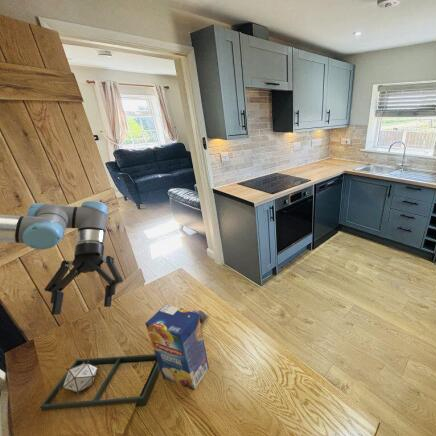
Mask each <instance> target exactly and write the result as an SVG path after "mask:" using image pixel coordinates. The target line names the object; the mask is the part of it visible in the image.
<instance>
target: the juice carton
mask: <svg viewBox="0 0 436 436" xmlns="http://www.w3.org/2000/svg"><path fill="white" fill-rule="evenodd" d="M180 308H181V307H176V306H173V305H170V304H165V305H163V306H162V307H161V308H160V309H158V311H157V312H156V313H155V314H154V315H152V316H151V318H149V319H148V320H147V321H145V326H146V330H147V333H148V336H149V339H150V342H151V345H152V348H153V352H154V354H155V355H156V358H157V361H158V364H159V367H160V370H161V371H160V374H161V376H162V378H163V380H167V381H168V382H172V383H174V384H175V385H176V384H177V385H180V386H182V387H184V388H187V389H189V390H192V391H195V390H196V388H197V387H198V385H199V384H200V382H201V381H202V379H203V377H204V376H205V375H206V373H207V371H208V370H209V368H210V367H209V366H210V365H209V361H208V355H207V351H206V346H205V345H206V344H205V340H204V336H203V335H204V334H203V330H202V324H200V319H199V314H197V313H194V312H192V311H191V310H187V309H184V308H183V309H184V310H183V309H180Z"/></svg>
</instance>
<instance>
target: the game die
mask: <svg viewBox="0 0 436 436" xmlns="http://www.w3.org/2000/svg"><path fill="white" fill-rule="evenodd" d="M84 363H85V362H84V361H83V362H82V364H81V365H79V366H76V367H74V368H71V369H70V367H66V368H65V370H66V373H67V375H66V378H65V381H64V384H63V387H62V388H60V389H59V390H60V391H61V390H67V391H69V392H74V393H76V396H78V395H79V394H80V392H81V391H83V390H85V389H87V388H90V387H91V386H92V385H93V384H94V382H95V379H96V376H97V372H98V369H100V368H101V365H97V366H96V365H91V364H88V363H89V360H88V361H87V363H85V364H84ZM67 371H68V372H67Z"/></svg>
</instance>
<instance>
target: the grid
mask: <svg viewBox="0 0 436 436" xmlns="http://www.w3.org/2000/svg"><path fill="white" fill-rule="evenodd" d="M88 360H89V363H88V364H91V365H93V366H103V365H104V366H105V365H113V366H112V368H111V369H110V371H109V372H108V374H107V376H106V378H105V379H104V381H103V382H102V384H101V386H100V388H98V391H96V394H95V396H94V398H93V399H92V400H81V401H69V402H56V403H52V401H53V400H54V399H55V397H56V396H57V394H58V393H59V392H60V391H61V390H59V389H60V388H62V387H63V384H64V381H65V378H66V375H67V372H68V370H66V372H65V374H64V375H63V377H62V378H61V379H60V381H58V383H57V384H56V385H55V386H54V388H53V389H52V391H51V392H50V393H49V394H48V395H47V397H46V398H45V400H44V401H43V402H42V403H41V405H40V406H39V408H40V409H41V411H42V412H43V411H53V410H67V409H77V408H79V409H80V408H89V407H90V408H91V407H103V406H112V405H113V406H114V405H124V404H134V408H136V407H146V406H147V405H148V402H149V400H150V397H151V394H152V393H153V391H154V388H155V385H156V383H157V380H158V379H159V375H160V374H161V370H160V367H159V364H158V361H157V358H156V355H155V353H150V354H137V355H136V354H135V355H123V356H122V355H121V356H107V357H94V358H79V359H75V361H74V363H72V365H70V367H69V369H71V368H74V367H76V366H79V365H81V364H82V362H83V361H84V362H85V363H87V361H88ZM145 362H147V363H148V362H154V363H153V366H152V368H151V370H150V372H149V374H148V377H147V379H146V380H145V384H144V385H143V387H142V390H141V392H140V394H139V396H129V397H120V398H119V397H118V398H117V397H116V398H104V399H101V397H102V396H103V394H104V392H105V391H106V389H107V387H108V385H109V384H110V382H111V381H112V379H113V377H114V376H115V374H116V373H117V370H118V368H119V367H120V365H121V364H131V363H133V364H134V363H145ZM85 363H84V364H85Z"/></svg>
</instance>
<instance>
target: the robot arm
mask: <svg viewBox="0 0 436 436" xmlns="http://www.w3.org/2000/svg"><path fill="white" fill-rule="evenodd" d="M108 208H109V207H108V205H107V204H105V203H103V202H102V201H98V200H85V201H84V202H82V203H81V205H80V206H71V205H62V204H52V203H37V202H35V203H32V204H30V205H29V207H28V210H27V212H26V213H27V215H18V214H17V215H16V214H3V213H0V243H13V244H15V243H16V244H25V245H26V246H27V247H29V248H32V249H34V250H48V249H51V248H55V246H57V245H58V244H59V243H60V242H61V241H62V239H63V237H64V236H65V231H66V229H77V234H76V241H75V244H76V245H75V248H74V255H73V257H74V259H73V260H65V259H64V260H62V261H61V263H60V267H59V268H58V269H57V271H56V272H55V274H54V275H53V277H52V278H51V279H50V281H49V282H48V283H47V285H46V286H45V287H44V292H49V293H51V296H50V304H52V307H51V314H50V315H61V313H62V308H63V300H64V294H65V293H64V292H63V290H64V289H65V288H67V286H68V285H70V283H72V281H73V280H75V278H77V277H78V276H80V275H81V274H87V273H95V272H96V273H98V274H99V276H100V277H101V278H102V279H103V280H104V281H105V282H106V283H108V284H107V285H105V291H104V302H103V307H105V308H110V307H112V300H113V296H115V295H116V287H117V285H118V284H121V283H123V281H124V279H123V277H122V276H121V274H120V272H119V270H118V268H117V266H116V264H115V257H114V256H111V255H107V256H105V257H104V253H105V243H106V233H107V224H108V218H109V216H108V212H109V210H108ZM103 263H105V264H106V266H107V268H108V269H109V271H110V273H111V275H110V274H109V273H107V271H106V270H105V269H104V268H103V267H102V264H103ZM72 266H73V267H72ZM70 268H71V269H70Z"/></svg>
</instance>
